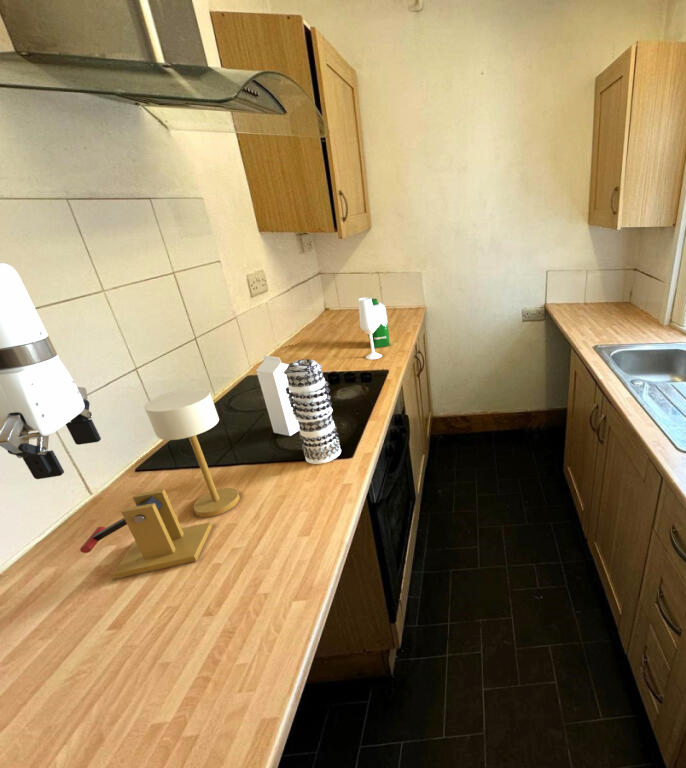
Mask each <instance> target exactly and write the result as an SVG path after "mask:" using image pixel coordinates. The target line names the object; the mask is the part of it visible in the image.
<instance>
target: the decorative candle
mask: <svg viewBox="0 0 686 768" xmlns="http://www.w3.org/2000/svg"><path fill="white" fill-rule="evenodd" d="M322 368H323V365H322V364H321V363H318V362H317V361H316V360H314V359H311V358H306V359H305V358H304V359H303V358H302V359H297V360H295V361H292V362H290V363H289V365H288V367H287V369H285V371H284V374H286V375H287V380H288V387H287V388H286V393H287V394H289V396H288V399H289V401H290V404H291V405H290V406H291V407H292V408H293V410H292V411H293V414H294V415H295V419H296V420H297V421H298V423H299V435H298V436H299V439H300V443H301V445H302V448H301V449H302V451H303V456H304V458H305V461H306V462H307V463H309V464H311V465H321V464H326V463H329V462H331V461H333V460H336V459H337V458H338V457H339V456H340V455H341V453H342V449H341V445H340V439H339V437H338V435H339V433H338V430H337V429H338V428H337V426H336V425H335V421H334V419H333V415H332V413H333V411H334V410H333V408H332V405H333V403H332V401H331V399H332V397H331V395H330V394H329V393H330V391H331V390H330V388H329V386H330V383H329V382H328V381H326V379H325V377H324V373H323V370H322ZM289 390H290V391H289ZM292 397H293V398H292ZM293 404H294V405H295V406H294V405H293Z"/></svg>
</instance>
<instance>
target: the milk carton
mask: <svg viewBox="0 0 686 768" xmlns="http://www.w3.org/2000/svg"><path fill="white" fill-rule="evenodd" d="M371 300H372V304H373V308H374V312H375V316H376V320H377V324H378V327H377V329H376V330H375V332H374V333H373V334H372V338H373V344H374V349H377V348H385V347H390V331H389V323H388V315H387V309H386V305H385V304H384V303H383V302H378V298H371ZM367 336H368V340H369V341H370V338H369V334H367Z"/></svg>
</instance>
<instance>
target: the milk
mask: <svg viewBox="0 0 686 768" xmlns="http://www.w3.org/2000/svg"><path fill="white" fill-rule="evenodd" d="M262 358H263V361H262V362H261V364H260V365H259V366H258V367H257V369H256V370H255V371H256V375H257V379H258V383H259V385H260V388H261V392H262V395H263V399H264V402H265V407H266V410H267V413H268V417H269V421H270V424H271V428H272V432H273V433H274V434H279V435H283V436H288V437H292V436H293V435H294V434H296V433H297V432H300V430H299V423H298V421H297V420H296V419H295V415H294V414H293V411H292V410H293V408H292V407H291V406H290V405H291V404H290V401H289V399H288V396H289V394H287V393H286V388H287V387H288V380H287V375H286V374H284V371H285V369H287V367H288V365H289V364H290V363H289V364H288V363H284V362H282V360H281V358H280V357H278V356H272V355H262ZM289 391H290V390H289ZM292 398H293V397H292ZM293 405H294V404H293ZM294 406H295V405H294Z"/></svg>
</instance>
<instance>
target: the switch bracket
mask: <svg viewBox="0 0 686 768" xmlns="http://www.w3.org/2000/svg"><path fill="white" fill-rule="evenodd" d="M151 496H152V497H154V498H155V499H156V500H158V501H159V502H160V503H161V504H163V505H162V506H161V508H160V509H159V511H158V509H157V507H156V505H155V503H153V504H147V505H142V506H137V504H139V503H141V502H142V501H144V500H146V499H148V498H149V497H151ZM132 500H133V501H134V503H135V505H136V506H131V507H125V508H123V509H122V510H121V515H122V517H123V518H124V519H125V521H126V523H127V525H126V526H127V527H128V528H129V529H128V530H129V531H130V533H131V535H132V537H133V539H134V542H133V543H132V544H131V546H130V548H129V549H128V551H127V552H126V554H125V555H124V556H123V558H122V559H121V561H120V563H119V564H118V565H117V567H116V568H115V570H114V572H113V573H112V575H113V577H114V579H115V580H116V579H121V578H125V577H130V576H135V575H140V574H144V573H149V572H152V571H157V570H162V569H165V568H170V567H175V566H180V565H184V564H188V563H193V562H196V561H197V560H198V558H199V556H200V555H201V552H202V550H203V547H204V546H205V543H206V542H207V539H208V537H209V534H210V533H211V530H212V528H213V526H212V523H211V522H206V523H201V524H196V525H191V526H186V527H181V524H180V522H179V520H178V517H177V515H176V512H175V510H174V508H173V505H172V504H171V503H172V502H171V500H170V499H169V496H168V494H167V492H166V490H165V488H162V489H156V490H152V491H151V490H150V491H146V492H140V493H134V495H133V496H132Z"/></svg>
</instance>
